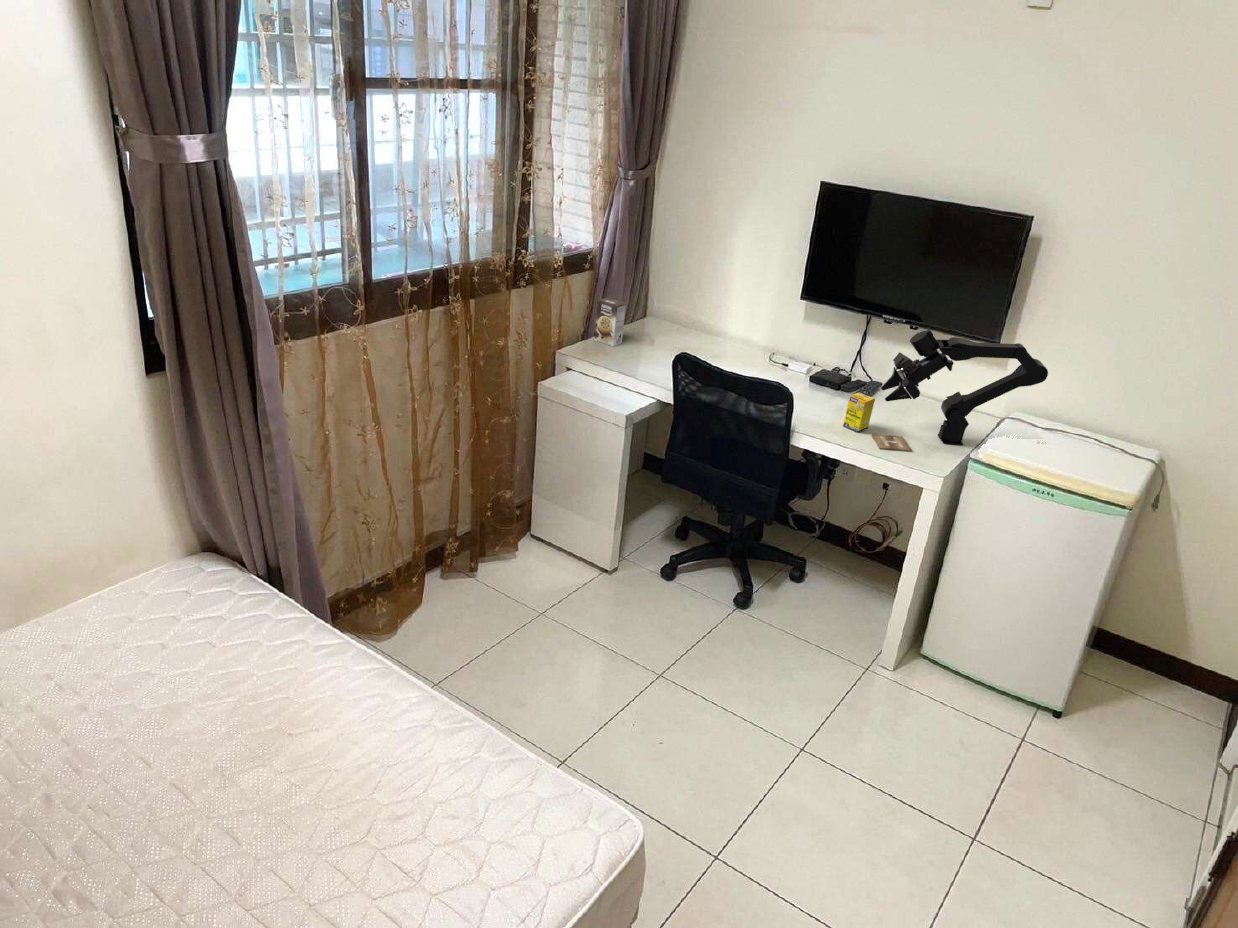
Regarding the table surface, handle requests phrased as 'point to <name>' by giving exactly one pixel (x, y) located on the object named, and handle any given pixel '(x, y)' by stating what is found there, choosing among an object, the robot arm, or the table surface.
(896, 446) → the pad
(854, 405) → the supplement box
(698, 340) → the table surface
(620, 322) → the coffee box
